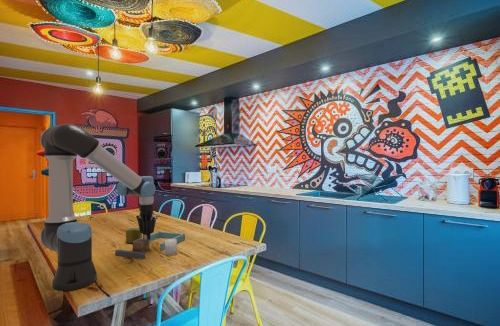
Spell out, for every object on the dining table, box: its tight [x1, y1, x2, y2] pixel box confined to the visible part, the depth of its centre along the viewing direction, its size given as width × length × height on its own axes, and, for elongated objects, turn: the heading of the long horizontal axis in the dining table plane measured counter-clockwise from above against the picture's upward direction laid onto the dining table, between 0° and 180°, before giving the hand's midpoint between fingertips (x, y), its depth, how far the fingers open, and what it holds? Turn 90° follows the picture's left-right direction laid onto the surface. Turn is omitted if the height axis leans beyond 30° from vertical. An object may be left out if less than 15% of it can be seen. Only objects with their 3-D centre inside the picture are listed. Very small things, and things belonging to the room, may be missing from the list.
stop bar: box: [114, 249, 146, 260], centre depth 139 cm, size 2×18×2 cm, turn 70°
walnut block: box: [132, 239, 150, 254], centre depth 146 cm, size 6×6×6 cm
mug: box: [125, 227, 143, 244], centre depth 166 cm, size 12×10×10 cm
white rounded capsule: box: [164, 238, 178, 256], centre depth 143 cm, size 6×6×7 cm
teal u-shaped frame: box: [135, 231, 186, 251], centre depth 161 cm, size 22×19×4 cm
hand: (146, 245), depth 150 cm, fingers closed
